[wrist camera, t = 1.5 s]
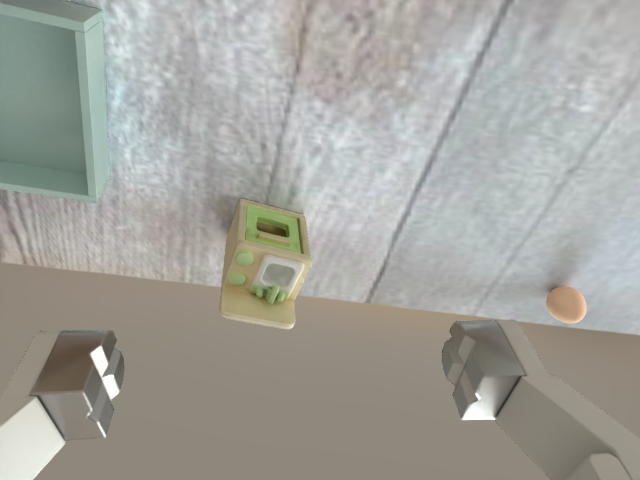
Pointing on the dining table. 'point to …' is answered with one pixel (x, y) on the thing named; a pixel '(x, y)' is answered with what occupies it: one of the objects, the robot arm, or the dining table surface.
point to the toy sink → (264, 265)
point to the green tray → (53, 100)
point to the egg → (566, 304)
